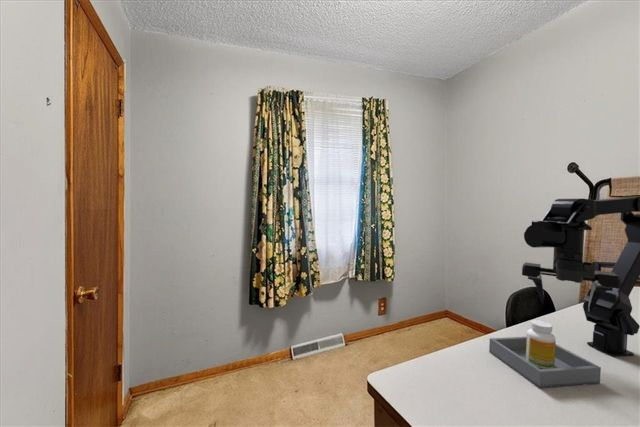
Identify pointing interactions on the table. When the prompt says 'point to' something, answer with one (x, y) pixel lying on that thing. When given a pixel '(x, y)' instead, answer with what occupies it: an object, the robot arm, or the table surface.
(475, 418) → the table surface
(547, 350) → the supplement bottle
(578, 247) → the robot arm
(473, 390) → the table surface
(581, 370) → the tray
